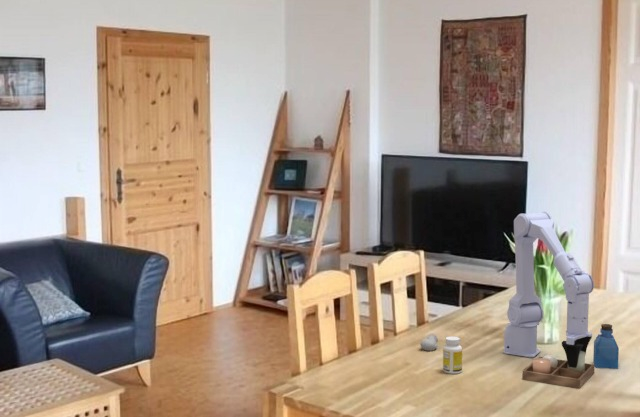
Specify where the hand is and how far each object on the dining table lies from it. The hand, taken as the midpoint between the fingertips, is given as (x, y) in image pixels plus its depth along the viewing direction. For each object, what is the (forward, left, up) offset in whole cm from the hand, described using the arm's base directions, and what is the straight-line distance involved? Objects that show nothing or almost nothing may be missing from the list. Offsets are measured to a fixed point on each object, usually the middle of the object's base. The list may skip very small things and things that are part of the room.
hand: (576, 363), depth 243 cm
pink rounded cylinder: (-8, -8, -3) cm, 11 cm away
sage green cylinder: (0, 0, -3) cm, 3 cm away
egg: (-8, 0, -3) cm, 8 cm away
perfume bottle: (+5, +13, -3) cm, 15 cm away
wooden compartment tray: (-4, -4, -3) cm, 6 cm away
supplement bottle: (-31, -15, -3) cm, 35 cm away
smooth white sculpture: (-46, +4, -4) cm, 47 cm away
